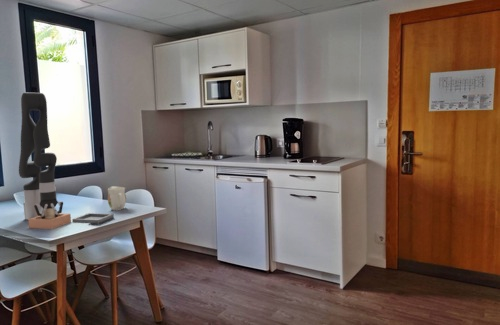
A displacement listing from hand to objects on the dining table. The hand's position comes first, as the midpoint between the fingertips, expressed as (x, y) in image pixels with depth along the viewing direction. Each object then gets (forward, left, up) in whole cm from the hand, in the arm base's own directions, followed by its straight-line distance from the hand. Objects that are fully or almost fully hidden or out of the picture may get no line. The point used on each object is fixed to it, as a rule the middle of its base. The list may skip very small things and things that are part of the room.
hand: (50, 222), depth 199 cm
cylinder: (0, 0, -1) cm, 1 cm away
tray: (+16, +14, -2) cm, 21 cm away
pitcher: (+13, +42, -3) cm, 44 cm away
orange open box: (0, 0, -2) cm, 2 cm away
